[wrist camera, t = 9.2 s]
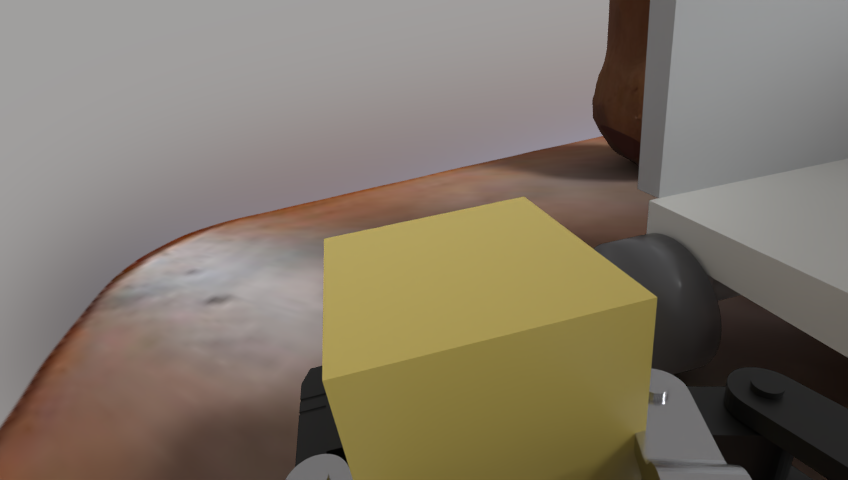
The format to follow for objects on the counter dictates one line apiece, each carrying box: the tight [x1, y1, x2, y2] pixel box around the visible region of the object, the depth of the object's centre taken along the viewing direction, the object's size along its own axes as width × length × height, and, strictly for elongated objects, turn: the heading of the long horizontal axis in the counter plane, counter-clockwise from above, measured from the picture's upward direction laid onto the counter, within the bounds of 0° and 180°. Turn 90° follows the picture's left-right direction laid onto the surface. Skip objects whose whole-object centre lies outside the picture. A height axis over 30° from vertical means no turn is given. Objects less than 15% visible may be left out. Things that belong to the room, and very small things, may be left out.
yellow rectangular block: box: [322, 197, 657, 480], centre depth 11 cm, size 5×5×10 cm
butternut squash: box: [593, 0, 650, 166], centre depth 43 cm, size 14×13×25 cm
